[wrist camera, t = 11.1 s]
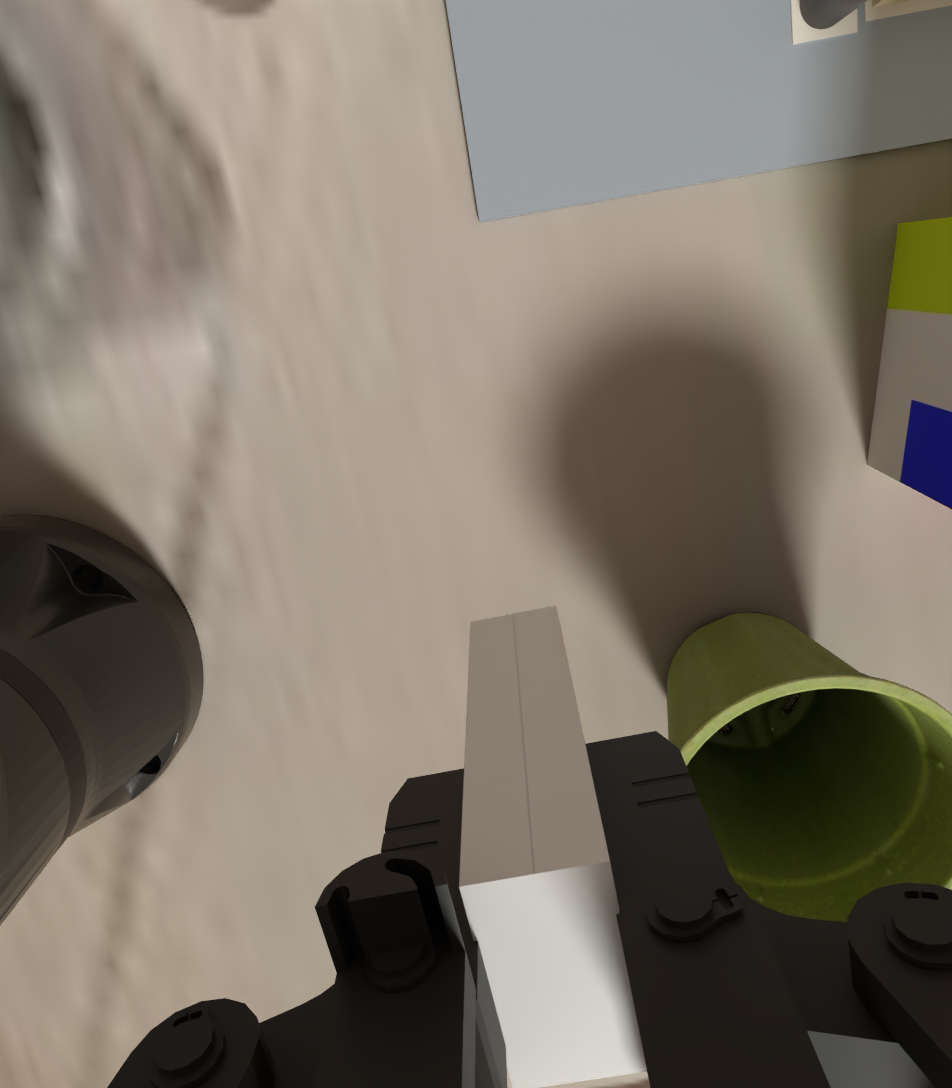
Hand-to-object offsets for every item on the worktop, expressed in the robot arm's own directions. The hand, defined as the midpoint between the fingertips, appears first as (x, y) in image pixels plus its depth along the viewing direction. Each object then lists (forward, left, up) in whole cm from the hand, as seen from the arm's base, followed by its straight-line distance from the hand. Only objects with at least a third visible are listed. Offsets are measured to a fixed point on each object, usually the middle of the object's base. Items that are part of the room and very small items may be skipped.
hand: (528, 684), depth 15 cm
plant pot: (+9, -14, -24) cm, 29 cm away
